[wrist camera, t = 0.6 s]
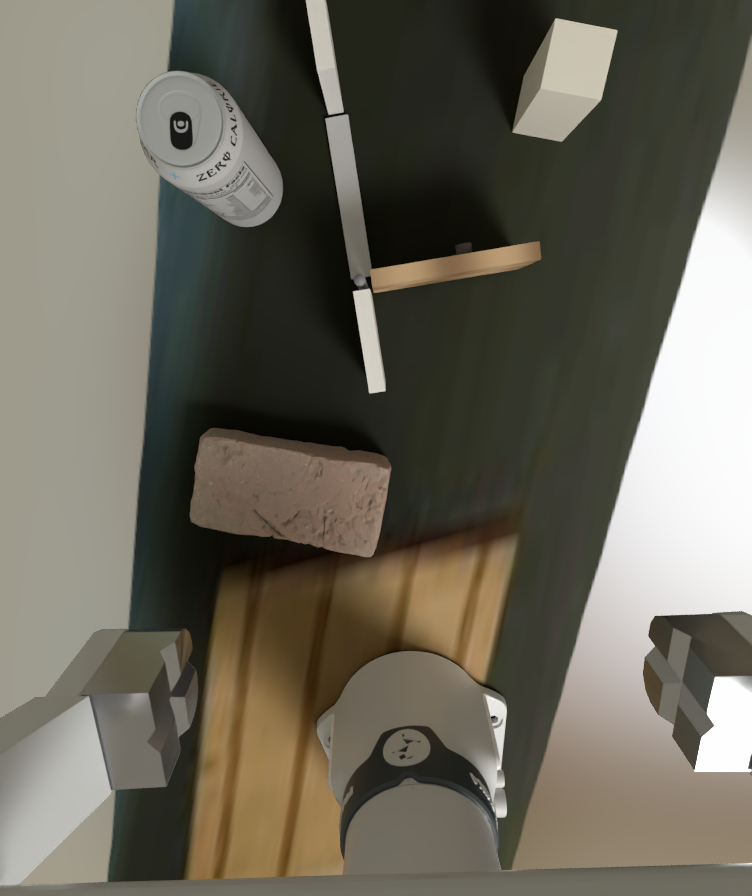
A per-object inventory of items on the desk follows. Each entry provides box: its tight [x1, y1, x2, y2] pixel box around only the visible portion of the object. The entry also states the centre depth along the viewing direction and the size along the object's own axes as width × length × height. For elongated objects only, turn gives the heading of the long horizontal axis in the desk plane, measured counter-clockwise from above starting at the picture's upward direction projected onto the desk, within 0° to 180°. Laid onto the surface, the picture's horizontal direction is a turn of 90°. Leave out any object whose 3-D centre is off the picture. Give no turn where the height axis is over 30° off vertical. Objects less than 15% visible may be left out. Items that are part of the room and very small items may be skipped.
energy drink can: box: [136, 71, 283, 227], centre depth 37 cm, size 6×6×15 cm
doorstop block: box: [512, 18, 618, 142], centre depth 39 cm, size 4×4×8 cm
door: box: [370, 241, 541, 293], centre depth 41 cm, size 12×2×6 cm, turn 99°
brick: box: [190, 428, 391, 557], centre depth 47 cm, size 17×8×5 cm, turn 80°
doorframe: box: [306, 0, 386, 393], centre depth 41 cm, size 28×2×8 cm, turn 9°
